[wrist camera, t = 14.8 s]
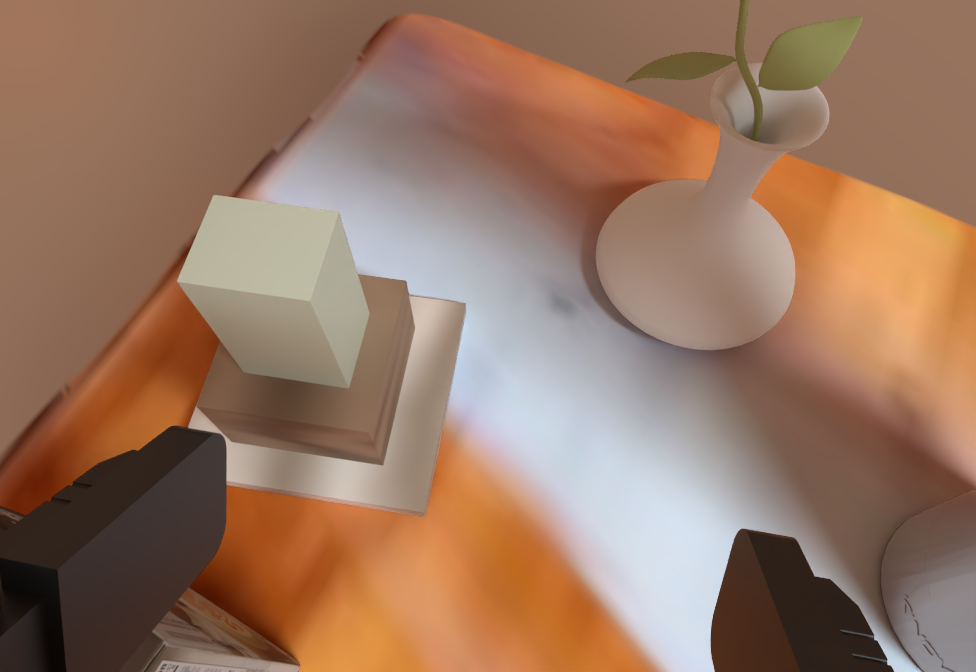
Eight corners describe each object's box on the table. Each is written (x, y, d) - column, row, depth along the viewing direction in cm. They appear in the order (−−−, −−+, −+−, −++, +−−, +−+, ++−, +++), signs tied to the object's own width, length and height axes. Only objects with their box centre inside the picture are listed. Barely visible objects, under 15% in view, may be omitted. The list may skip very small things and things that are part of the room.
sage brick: (369, 313, 34) (338, 211, 27) (349, 388, 32) (310, 301, 25) (270, 298, 34) (213, 194, 27) (243, 372, 33) (176, 281, 26)
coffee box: (62, 691, 32) (-280, 685, 18) (156, 563, 35) (-75, 467, 20) (222, 807, 30) (-18, 907, 16) (310, 662, 33) (173, 634, 18)
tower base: (465, 312, 41) (462, 254, 36) (425, 517, 36) (414, 485, 30) (250, 282, 42) (215, 221, 37) (178, 477, 36) (126, 439, 31)
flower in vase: (774, 207, 45) (1061, -282, 22) (794, 371, 39) (1192, -53, 17) (568, 192, 45) (647, -300, 23) (560, 352, 40) (653, -85, 18)
